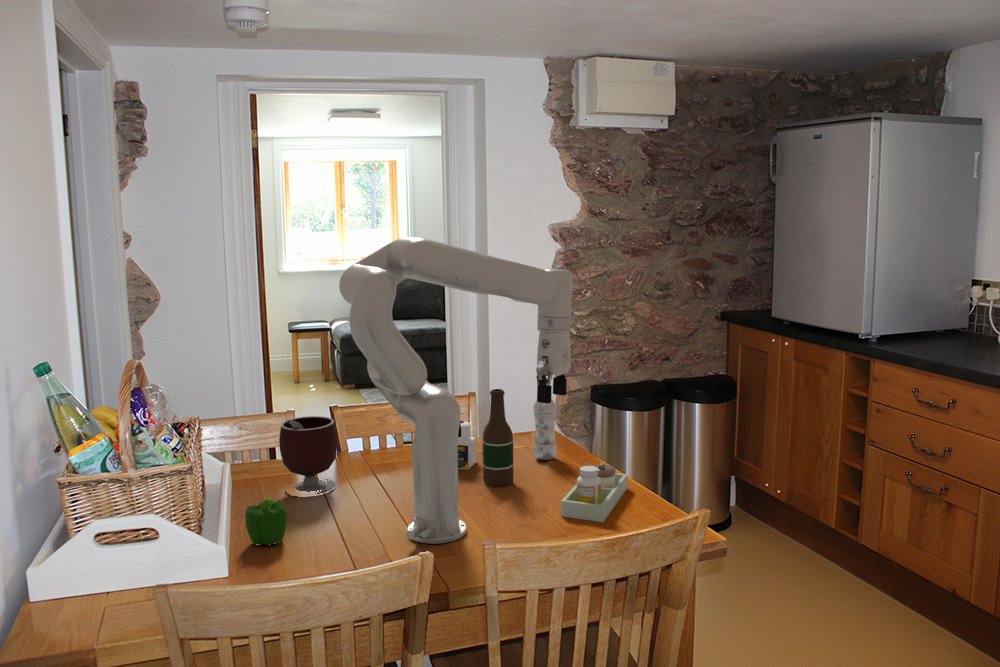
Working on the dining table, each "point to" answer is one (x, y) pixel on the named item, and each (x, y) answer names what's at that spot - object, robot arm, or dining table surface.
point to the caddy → (594, 510)
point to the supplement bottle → (589, 485)
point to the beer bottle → (497, 444)
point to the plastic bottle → (545, 430)
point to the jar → (606, 475)
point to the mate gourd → (309, 450)
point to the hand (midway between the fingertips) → (551, 398)
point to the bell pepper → (266, 522)
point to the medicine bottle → (466, 446)
